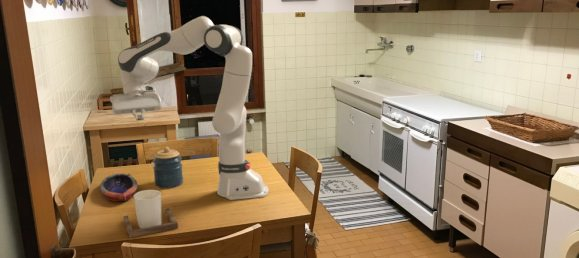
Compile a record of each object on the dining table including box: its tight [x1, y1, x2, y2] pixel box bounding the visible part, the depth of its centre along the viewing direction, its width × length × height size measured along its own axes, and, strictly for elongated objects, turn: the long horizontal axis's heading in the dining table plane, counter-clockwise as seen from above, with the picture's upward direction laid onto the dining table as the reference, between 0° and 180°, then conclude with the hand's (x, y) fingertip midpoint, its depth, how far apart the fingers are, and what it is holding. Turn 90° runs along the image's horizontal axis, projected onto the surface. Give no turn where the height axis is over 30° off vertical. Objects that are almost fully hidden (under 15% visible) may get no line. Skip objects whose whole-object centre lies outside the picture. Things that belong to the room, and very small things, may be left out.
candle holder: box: [132, 189, 163, 229], centre depth 173 cm, size 10×10×12 cm
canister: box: [152, 146, 184, 189], centre depth 214 cm, size 13×13×18 cm
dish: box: [99, 173, 138, 202], centre depth 206 cm, size 16×31×5 cm, turn 21°
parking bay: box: [123, 207, 179, 239], centre depth 174 cm, size 16×17×2 cm
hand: (140, 119), depth 196 cm, fingers closed
